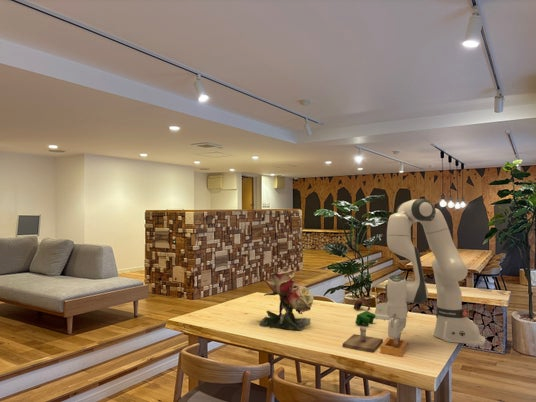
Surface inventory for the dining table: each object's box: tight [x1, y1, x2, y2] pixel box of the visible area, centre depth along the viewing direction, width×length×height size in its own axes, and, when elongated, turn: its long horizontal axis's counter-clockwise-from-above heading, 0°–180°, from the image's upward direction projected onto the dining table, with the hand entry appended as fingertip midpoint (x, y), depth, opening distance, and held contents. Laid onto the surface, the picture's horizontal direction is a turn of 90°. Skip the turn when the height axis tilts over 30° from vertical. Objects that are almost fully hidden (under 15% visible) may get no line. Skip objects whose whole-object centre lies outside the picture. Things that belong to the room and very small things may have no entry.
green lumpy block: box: [355, 310, 376, 327], centre depth 214 cm, size 12×6×9 cm, turn 133°
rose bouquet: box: [259, 266, 315, 331], centre depth 216 cm, size 26×29×30 cm
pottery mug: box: [353, 296, 371, 311], centre depth 246 cm, size 12×10×8 cm
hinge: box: [374, 302, 390, 321], centre depth 225 cm, size 17×5×10 cm, turn 66°
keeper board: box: [342, 325, 384, 354], centre depth 181 cm, size 14×16×8 cm
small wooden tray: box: [379, 337, 409, 357], centre depth 174 cm, size 9×13×3 cm
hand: (397, 342), depth 179 cm, fingers open, 2 cm apart
